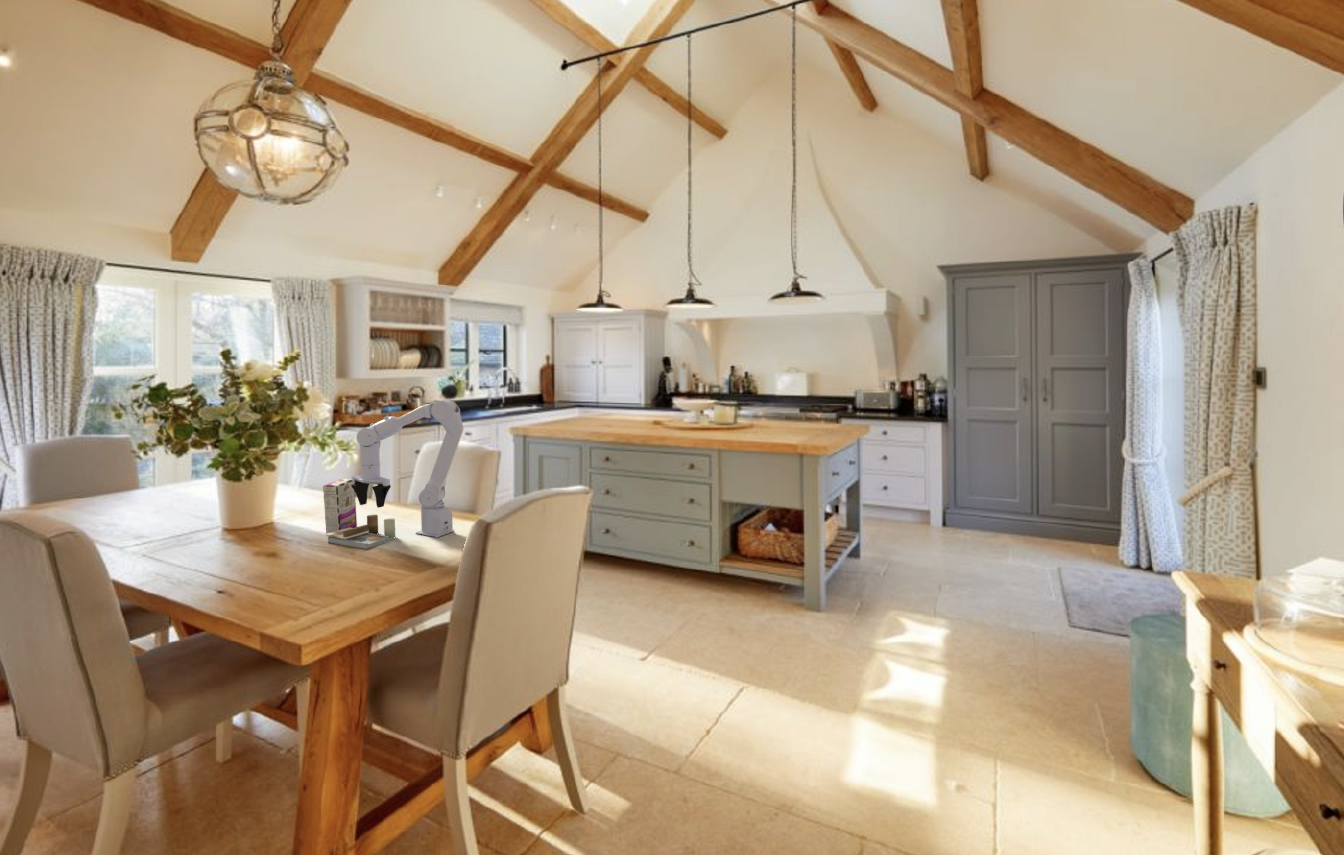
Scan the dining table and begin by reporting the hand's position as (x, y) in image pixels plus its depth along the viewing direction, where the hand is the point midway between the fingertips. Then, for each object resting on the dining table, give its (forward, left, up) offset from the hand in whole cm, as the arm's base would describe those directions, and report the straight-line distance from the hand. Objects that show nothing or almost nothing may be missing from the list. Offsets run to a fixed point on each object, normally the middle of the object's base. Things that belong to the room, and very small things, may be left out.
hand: (371, 505), depth 211 cm
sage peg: (-9, +1, -9) cm, 13 cm away
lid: (+1, +9, -7) cm, 11 cm away
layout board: (-4, +8, -9) cm, 13 cm away
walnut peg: (0, 0, -9) cm, 9 cm away
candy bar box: (+12, +2, -10) cm, 16 cm away
